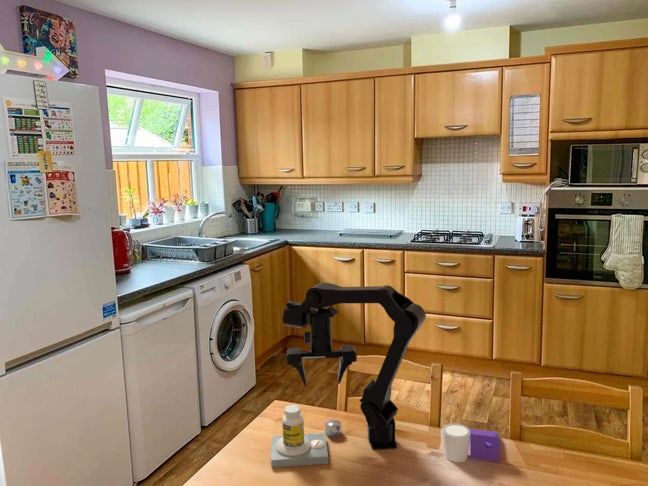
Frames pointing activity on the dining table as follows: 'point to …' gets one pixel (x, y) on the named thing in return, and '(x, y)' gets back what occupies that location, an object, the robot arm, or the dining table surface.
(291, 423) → the supplement bottle
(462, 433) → the white short tapered cylinder
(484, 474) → the dining table surface
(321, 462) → the scale
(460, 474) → the dining table surface
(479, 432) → the purple box with knob
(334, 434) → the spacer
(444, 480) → the dining table surface
